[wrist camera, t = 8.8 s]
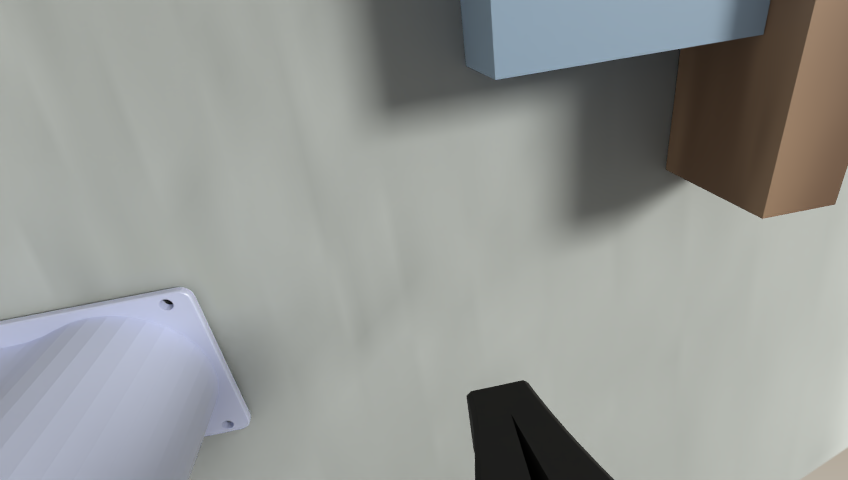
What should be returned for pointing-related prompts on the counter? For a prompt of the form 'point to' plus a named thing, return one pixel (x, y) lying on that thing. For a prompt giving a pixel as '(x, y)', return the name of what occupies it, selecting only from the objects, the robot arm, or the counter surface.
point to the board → (767, 111)
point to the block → (595, 30)
